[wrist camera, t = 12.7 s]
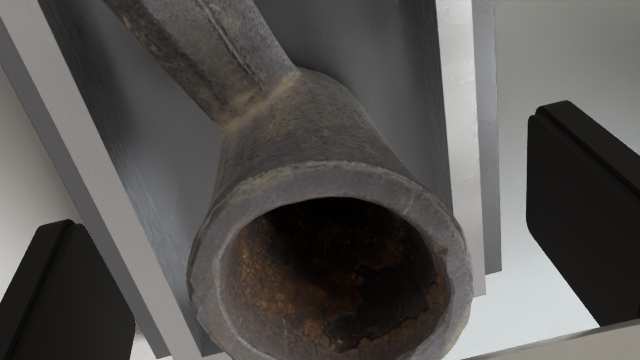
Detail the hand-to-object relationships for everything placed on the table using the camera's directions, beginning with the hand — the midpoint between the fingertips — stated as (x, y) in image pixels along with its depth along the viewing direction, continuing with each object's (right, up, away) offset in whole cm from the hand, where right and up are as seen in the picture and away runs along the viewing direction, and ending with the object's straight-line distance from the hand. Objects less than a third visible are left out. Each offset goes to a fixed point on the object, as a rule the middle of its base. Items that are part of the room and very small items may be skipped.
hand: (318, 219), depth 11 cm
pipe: (-2, +4, +6) cm, 8 cm away
